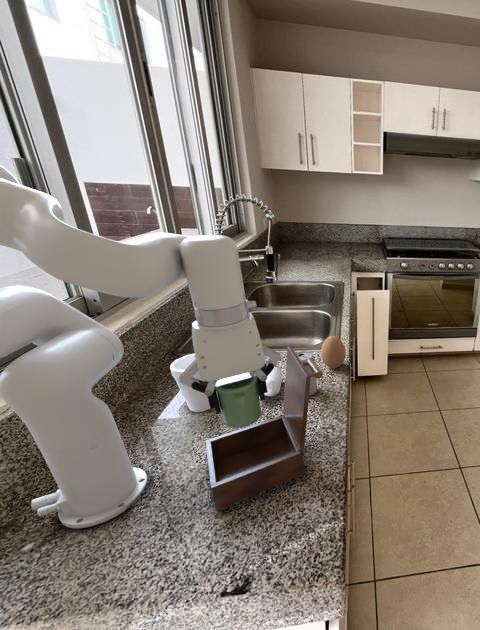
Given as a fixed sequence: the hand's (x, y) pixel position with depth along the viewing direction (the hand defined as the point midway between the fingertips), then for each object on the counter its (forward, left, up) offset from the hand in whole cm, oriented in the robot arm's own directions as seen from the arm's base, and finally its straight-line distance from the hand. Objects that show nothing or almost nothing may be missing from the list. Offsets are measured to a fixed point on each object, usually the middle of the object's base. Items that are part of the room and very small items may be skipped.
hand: (240, 402), depth 63 cm
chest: (+1, +2, -18) cm, 19 cm away
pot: (0, 0, -3) cm, 3 cm away
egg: (+29, +33, -19) cm, 48 cm away
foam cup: (-7, +33, -19) cm, 38 cm away
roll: (+9, +29, -19) cm, 35 cm away
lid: (+10, +2, -3) cm, 10 cm away
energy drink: (+18, +24, -19) cm, 35 cm away
